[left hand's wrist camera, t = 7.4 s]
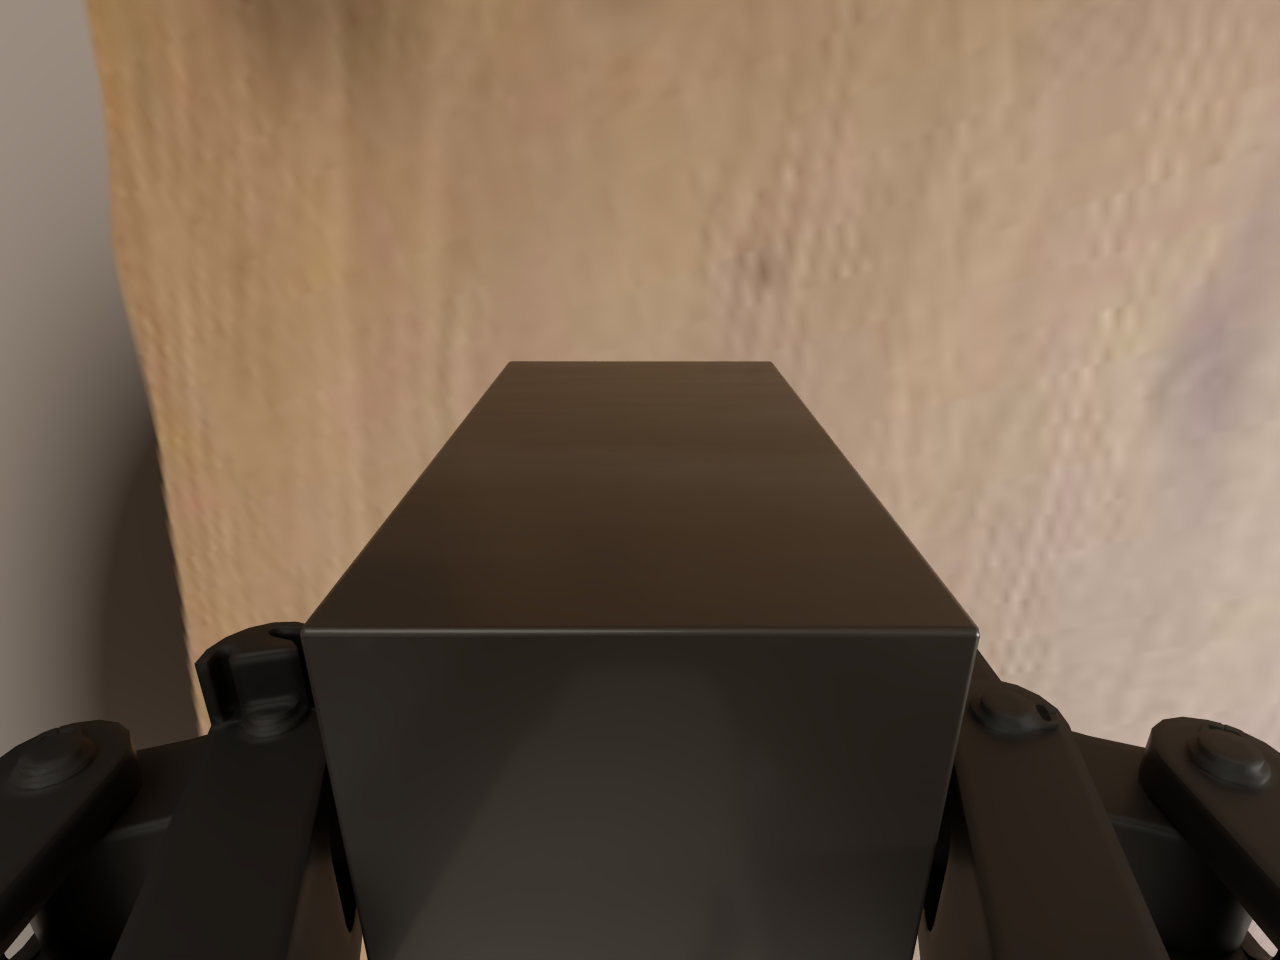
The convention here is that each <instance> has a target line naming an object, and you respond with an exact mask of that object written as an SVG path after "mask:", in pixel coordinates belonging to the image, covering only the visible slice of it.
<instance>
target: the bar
mask: <svg viewBox="0 0 1280 960" xmlns="http://www.w3.org/2000/svg"><path fill="white" fill-rule="evenodd" d="M300 636H301V641H302V646H303V651H304V656H305V660H306V665H307V670H308V675H309V680H310V684H311V689H312V694H313V699H314V704H315V708H316V713H317V718H318V723H319V728H320V733H321V737H322V742H323V747H324V752H325V757H326V761H327V766H328V771H329V776H330V781H331V785H332V790H333V795H334V800H335V805H336V809H337V814H338V819H339V824H340V829H341V833H342V838H343V843H344V848H345V853H346V858H347V862H348V867H349V872H350V877H351V882H352V886H353V891H354V896H355V901H356V906H357V910H358V915H359V920H360V925H361V930H362V934H363V939H364V944H365V949H366V954H367V958H368V960H912V959H913V955H914V950H915V945H916V940H917V935H918V931H919V926H920V921H921V916H922V911H923V907H924V902H925V897H926V892H927V887H928V883H929V878H930V873H931V868H932V863H933V859H934V854H935V849H936V844H937V839H938V835H939V830H940V825H941V820H942V815H943V811H944V806H945V801H946V796H947V791H948V787H949V782H950V777H951V772H952V767H953V763H954V758H955V753H956V748H957V744H958V739H959V734H960V729H961V724H962V720H963V715H964V710H965V705H966V700H967V696H968V691H969V686H970V681H971V676H972V672H973V667H974V662H975V657H976V652H977V648H978V643H979V638H980V632H979V629H978V627H977V626H976V624H975V623H974V622H973V620H972V619H971V618H970V617H969V615H968V614H967V613H966V611H965V610H964V609H963V608H962V606H961V605H960V604H959V602H958V601H957V600H956V599H955V597H954V596H953V595H952V593H951V592H950V591H949V590H948V588H947V587H946V586H945V584H944V583H943V582H942V581H941V579H940V578H939V577H938V575H937V574H936V573H935V572H934V570H933V569H932V568H931V566H930V565H929V564H928V563H927V561H926V560H925V559H924V557H923V556H922V555H921V554H920V552H919V551H918V550H917V548H916V547H915V546H914V545H913V543H912V542H911V541H910V539H909V538H908V537H907V536H906V534H905V533H904V532H903V530H902V529H901V528H900V527H899V525H898V524H897V523H896V521H895V520H894V519H893V518H892V516H891V515H890V514H889V512H888V511H887V510H886V508H885V507H884V506H883V505H882V503H881V502H880V501H879V499H878V498H877V497H876V496H875V494H874V493H873V492H872V490H871V489H870V488H869V487H868V485H867V484H866V483H865V481H864V480H863V479H862V478H861V476H860V475H859V474H858V472H857V471H856V470H855V469H854V467H853V466H852V465H851V463H850V462H849V461H848V460H847V458H846V457H845V456H844V454H843V453H842V452H841V451H840V449H839V448H838V447H837V445H836V444H835V443H834V442H833V440H832V439H831V438H830V436H829V435H828V434H827V433H826V431H825V430H824V429H823V427H822V426H821V425H820V424H819V422H818V421H817V420H816V418H815V417H814V416H813V415H812V413H811V412H810V411H809V409H808V408H807V407H806V406H805V404H804V403H803V402H802V400H801V399H800V398H799V397H798V395H797V394H796V393H795V391H794V390H793V389H792V388H791V386H790V385H789V384H788V382H787V381H786V380H785V379H784V377H783V376H782V375H781V373H780V372H779V371H778V370H777V368H776V367H775V366H774V364H773V363H772V362H547V361H511V362H509V363H508V364H507V365H506V367H505V368H504V369H503V371H502V372H501V373H500V374H499V376H498V377H497V378H496V379H495V381H494V382H493V383H492V385H491V386H490V387H489V388H488V390H487V391H486V392H485V394H484V395H483V396H482V397H481V399H480V400H479V401H478V403H477V404H476V405H475V406H474V408H473V409H472V410H471V412H470V413H469V414H468V415H467V417H466V418H465V419H464V420H463V422H462V423H461V424H460V426H459V427H458V428H457V429H456V431H455V432H454V433H453V435H452V436H451V437H450V438H449V440H448V441H447V442H446V444H445V445H444V446H443V447H442V449H441V450H440V451H439V453H438V454H437V455H436V456H435V458H434V459H433V460H432V461H431V463H430V464H429V465H428V467H427V468H426V469H425V470H424V472H423V473H422V474H421V476H420V477H419V478H418V479H417V481H416V482H415V483H414V485H413V486H412V487H411V488H410V490H409V491H408V492H407V494H406V495H405V496H404V497H403V499H402V500H401V501H400V502H399V504H398V505H397V506H396V508H395V509H394V510H393V511H392V513H391V514H390V515H389V517H388V518H387V519H386V520H385V522H384V523H383V524H382V526H381V527H380V528H379V529H378V531H377V532H376V533H375V535H374V536H373V537H372V538H371V540H370V541H369V542H368V543H367V545H366V546H365V547H364V549H363V550H362V551H361V552H360V554H359V555H358V556H357V558H356V559H355V560H354V561H353V563H352V564H351V565H350V567H349V568H348V569H347V570H346V572H345V573H344V574H343V576H342V577H341V578H340V579H339V581H338V582H337V583H336V584H335V586H334V587H333V588H332V590H331V591H330V592H329V593H328V595H327V596H326V597H325V599H324V600H323V601H322V602H321V604H320V605H319V606H318V608H317V609H316V610H315V611H314V613H313V614H312V615H311V617H310V618H309V619H308V620H307V622H306V623H305V624H304V626H303V627H302V629H301V635H300Z"/></svg>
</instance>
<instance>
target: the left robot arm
mask: <svg viewBox="0 0 1280 960" xmlns="http://www.w3.org/2000/svg"><path fill="white" fill-rule="evenodd" d="M303 626H304V623H300V622H273V623H269V624H264V625H260V626H255V627H251V628H248V629H245V630H243V631H240V632H238V633H235V634H233V635H230V636H228V637H225V638H224V639H222V640H221V641H219V642H218V643H216V644H215V645H213V646H212V647H210V648H209V649H207V650H206V651H205V652H204V653H203V655H202V656H201V657H200V658H199V659H198V660H197V662H196V663H195V668H196V671H197V675H198V678H199V682H200V686H201V689H202V693H203V696H204V700H205V704H206V707H207V711H208V714H209V718H210V722H211V728H210V730H209V732H208V735H204V736H201V737H197V738H194V739H190V740H185V741H180V742H175V743H171V744H166V745H161V746H157V747H152V748H147V749H142V750H138V751H136V749H135V746H134V743H133V740H132V737H131V734H130V731H129V730H127V729H126V728H125V727H124V726H122V725H121V724H120V723H118V722H111V721H104V720H94V721H86V722H78V723H72V724H69V725H64V726H61V727H59V728H54V729H51V730H49V731H46V732H43V733H41V734H39V735H38V736H36V737H34V738H32V739H30V740H28V741H26V742H24V743H22V744H20V745H17V746H16V747H14V748H13V749H12V750H10V751H9V752H7V753H6V754H5V755H3V756H2V757H0V960H9V959H8V958H6V956H5V954H4V953H5V951H6V950H7V949H8V948H9V947H10V945H11V944H12V943H13V942H14V941H15V939H16V938H17V937H18V936H19V934H20V933H21V932H22V931H23V930H24V928H25V927H26V926H27V925H28V924H29V922H30V924H31V927H32V929H33V931H34V934H33V935H32V936H31V938H30V939H29V940H28V941H27V943H26V944H25V945H24V946H23V948H22V949H21V950H19V951H18V952H17V953H16V954H15V955H14V956H13V957H12V958H11V959H10V960H360V952H361V943H362V930H361V925H360V920H359V915H358V910H357V906H356V901H355V896H354V891H353V886H352V882H351V877H350V872H349V867H348V862H347V858H346V853H345V848H344V843H343V838H342V833H341V829H340V824H339V819H338V814H337V809H336V805H335V800H334V795H333V790H332V785H331V781H330V776H329V771H328V766H327V761H326V757H325V752H324V747H323V742H322V737H321V733H320V728H319V723H318V718H317V713H316V708H315V704H314V699H313V694H312V689H311V684H310V680H309V675H308V670H307V665H306V660H305V656H304V651H303V646H302V641H301V636H300V635H301V629H302V627H303ZM1252 919H1253V920H1254V921H1255V922H1256V924H1257V925H1258V926H1259V927H1260V928H1261V930H1262V931H1263V932H1264V933H1265V934H1266V936H1267V937H1268V938H1269V939H1270V940H1271V942H1272V943H1273V944H1274V945H1275V946H1276V948H1277V949H1278V951H1277V953H1276V955H1275V956H1274V957H1272V956H1270V955H1269V954H1268V953H1267V952H1266V951H1265V950H1264V949H1263V948H1262V947H1261V946H1260V945H1259V944H1258V943H1257V941H1256V940H1255V939H1254V938H1253V936H1252V935H1251V934H1250V933H1249V932H1248V928H1249V926H1250V924H1251V921H1252ZM918 941H919V950H920V960H1280V753H1279V752H1278V751H1276V750H1275V749H1273V748H1272V747H1271V746H1269V745H1268V744H1266V743H1265V742H1263V741H1261V740H1259V739H1257V738H1254V737H1252V736H1250V735H1248V734H1246V733H1244V732H1243V731H1241V730H1239V729H1237V728H1234V727H1231V726H1228V725H1223V724H1221V723H1218V722H1214V721H1210V720H1204V719H1196V718H1188V717H1178V718H1171V719H1164V720H1162V721H1161V722H1159V723H1158V724H1157V725H1155V726H1154V727H1153V728H1152V730H1151V733H1150V736H1149V739H1148V742H1147V745H1146V748H1143V747H1139V746H1134V745H1129V744H1124V743H1120V742H1115V741H1110V740H1106V739H1101V738H1096V737H1091V736H1087V735H1084V734H1080V733H1077V732H1073V731H1071V729H1070V726H1069V724H1068V723H1067V721H1066V720H1065V719H1064V717H1063V716H1062V715H1061V713H1060V712H1059V710H1058V709H1057V708H1055V707H1054V706H1053V705H1051V704H1050V703H1049V702H1047V701H1046V700H1045V699H1043V698H1042V697H1041V696H1039V695H1037V694H1035V693H1033V692H1031V691H1029V690H1027V689H1024V688H1022V687H1020V686H1018V685H1015V684H1011V683H1007V682H1003V681H1001V680H1000V679H999V678H998V676H997V675H996V674H995V672H994V671H993V669H992V668H991V667H990V665H989V664H988V663H987V661H986V660H985V659H984V657H983V656H982V655H981V653H980V652H979V651H978V649H977V652H976V657H975V662H974V667H973V672H972V676H971V681H970V686H969V691H968V696H967V700H966V705H965V710H964V715H963V720H962V724H961V729H960V734H959V739H958V744H957V748H956V753H955V758H954V763H953V767H952V772H951V777H950V782H949V787H948V791H947V796H946V801H945V806H944V811H943V815H942V820H941V825H940V830H939V835H938V839H937V844H936V849H935V854H934V859H933V863H932V868H931V873H930V878H929V883H928V887H927V892H926V897H925V902H924V907H923V911H922V916H921V921H920V926H919V931H918Z"/></svg>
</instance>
